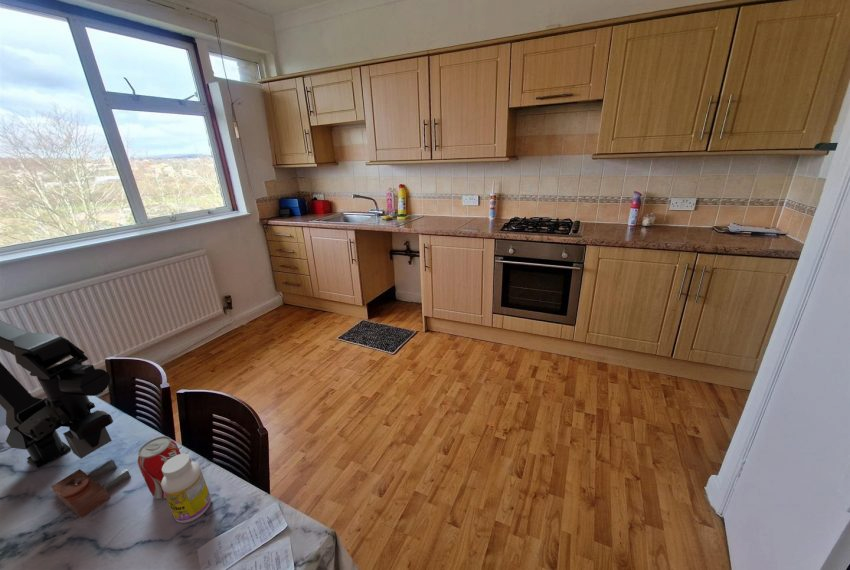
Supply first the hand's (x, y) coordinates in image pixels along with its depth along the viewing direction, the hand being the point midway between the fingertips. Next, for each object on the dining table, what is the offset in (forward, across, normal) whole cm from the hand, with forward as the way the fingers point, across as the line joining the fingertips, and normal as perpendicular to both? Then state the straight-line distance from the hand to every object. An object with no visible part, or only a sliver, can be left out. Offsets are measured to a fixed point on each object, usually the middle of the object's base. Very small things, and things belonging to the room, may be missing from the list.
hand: (91, 443), depth 84 cm
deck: (+6, +9, -4) cm, 11 cm away
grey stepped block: (+1, 0, 0) cm, 1 cm away
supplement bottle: (+6, +35, +2) cm, 35 cm away
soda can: (+6, +25, +3) cm, 26 cm away
